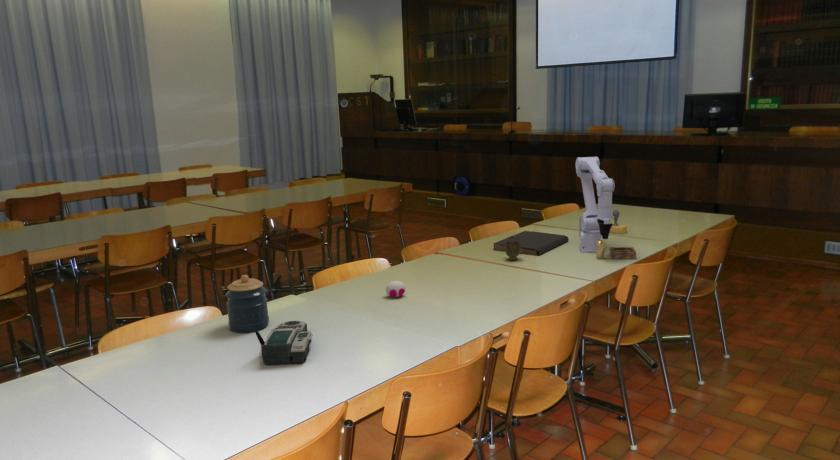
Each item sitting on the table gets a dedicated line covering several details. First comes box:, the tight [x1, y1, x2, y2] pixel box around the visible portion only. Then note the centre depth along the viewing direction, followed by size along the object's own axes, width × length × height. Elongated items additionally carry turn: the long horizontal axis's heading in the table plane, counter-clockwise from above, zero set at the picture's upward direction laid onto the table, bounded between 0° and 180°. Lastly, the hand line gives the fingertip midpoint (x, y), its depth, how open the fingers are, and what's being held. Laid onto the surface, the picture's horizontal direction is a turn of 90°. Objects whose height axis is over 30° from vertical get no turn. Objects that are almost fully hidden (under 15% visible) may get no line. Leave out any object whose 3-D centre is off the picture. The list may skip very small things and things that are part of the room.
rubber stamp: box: [609, 209, 628, 235], centre depth 325 cm, size 10×6×12 cm, turn 48°
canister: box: [225, 274, 270, 334], centre depth 205 cm, size 13×13×18 cm
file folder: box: [492, 230, 569, 257], centre depth 303 cm, size 33×4×24 cm
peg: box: [595, 239, 605, 260], centre depth 275 cm, size 3×3×8 cm
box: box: [609, 246, 637, 260], centre depth 278 cm, size 10×10×3 cm
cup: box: [504, 241, 521, 261], centre depth 278 cm, size 8×7×8 cm
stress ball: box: [385, 280, 407, 299], centre depth 232 cm, size 8×8×7 cm
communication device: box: [254, 320, 314, 365], centre depth 188 cm, size 14×28×10 cm, turn 2°
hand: (604, 237), depth 274 cm, fingers open, 7 cm apart
